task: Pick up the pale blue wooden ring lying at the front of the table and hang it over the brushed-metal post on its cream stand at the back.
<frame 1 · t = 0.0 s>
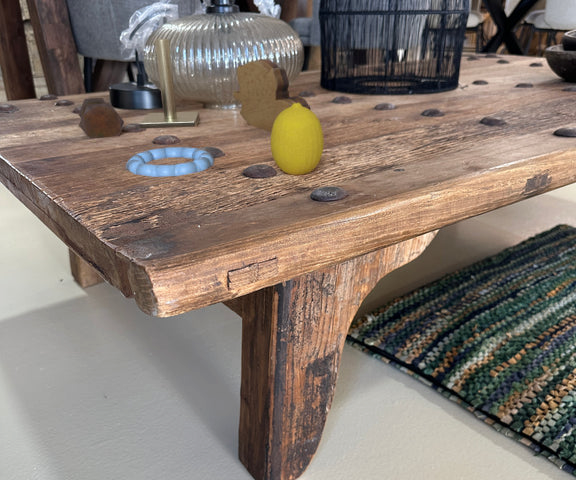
post: (171, 125, 88), on the table
lemon: (297, 181, 61), on the table
ring: (170, 163, 65), point 1 cm above the table
wooden carving: (271, 136, 81), on the table
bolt: (101, 134, 84), on the table
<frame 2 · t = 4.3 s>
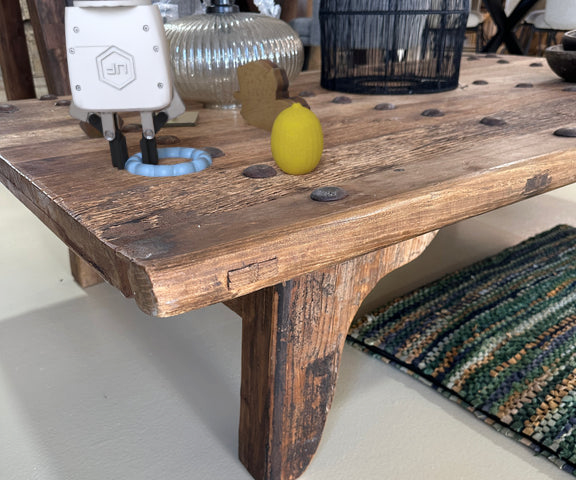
hand: (137, 171, 65), 0 cm above the table, tool pointing down, fingers closed on ring, 2 cm apart
ring: (169, 163, 65), point 1 cm above the table, touching gripper
everything else where it was.
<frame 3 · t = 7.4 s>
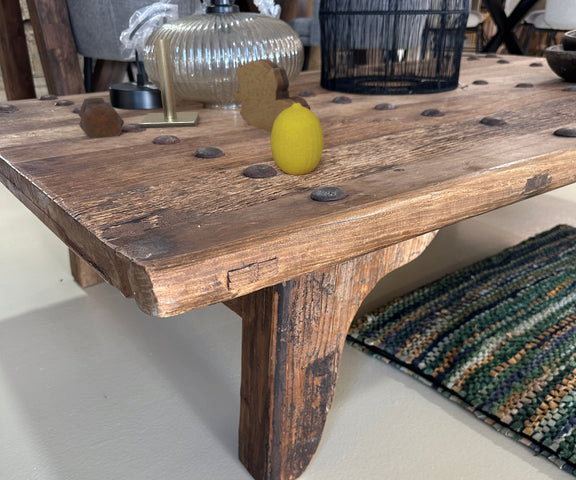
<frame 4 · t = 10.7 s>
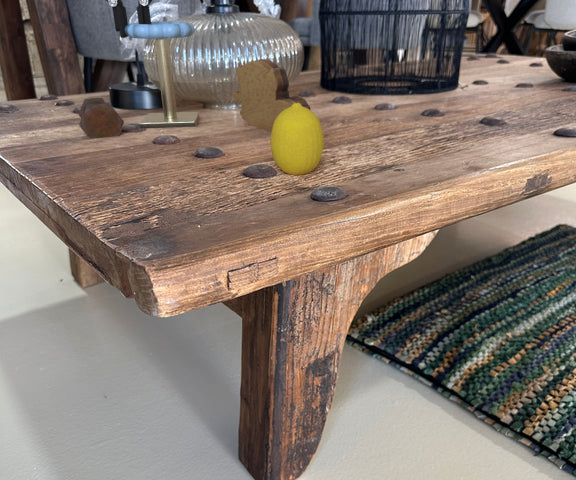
hand: (134, 35, 82), 13 cm above the table, tool pointing down, fingers closed on ring
ring: (160, 29, 82), point 13 cm above the table, touching gripper
everything else where it was.
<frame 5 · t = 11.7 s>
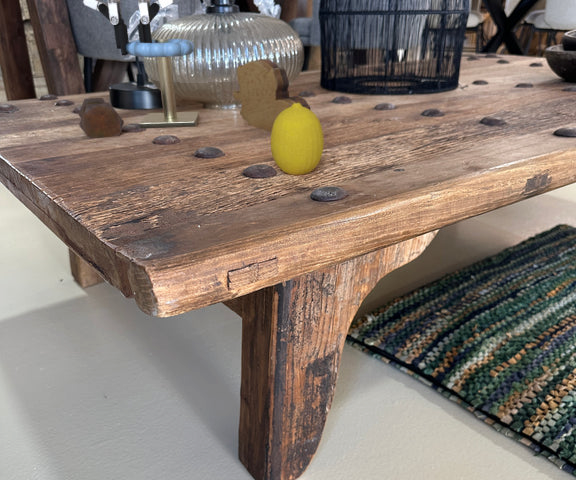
hand: (135, 53, 83), 10 cm above the table, tool pointing down, fingers closed on ring
ring: (160, 47, 83), point 11 cm above the table, touching gripper
everything else where it was.
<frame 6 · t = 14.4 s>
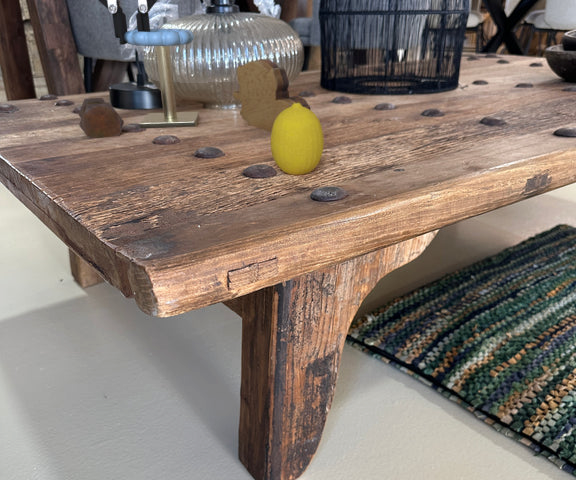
hand: (134, 42, 82), 12 cm above the table, tool pointing down, fingers closed on ring
ring: (159, 37, 82), point 12 cm above the table, touching gripper
everything else where it was.
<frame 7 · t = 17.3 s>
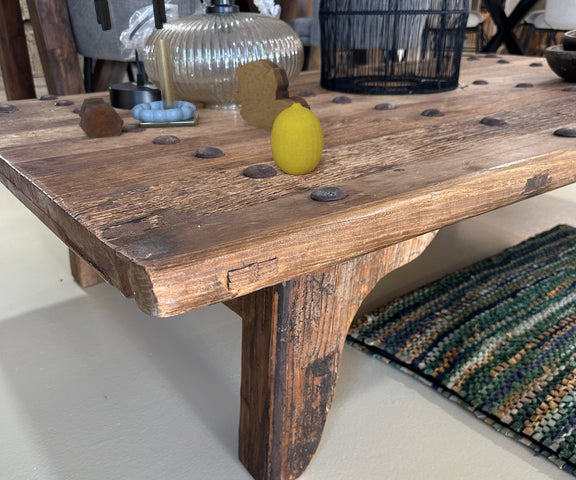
hand: (133, 28, 81), 14 cm above the table, tool pointing down, fingers open, 6 cm apart
ring: (164, 111, 87), point 2 cm above the table, touching post
everything else where it was.
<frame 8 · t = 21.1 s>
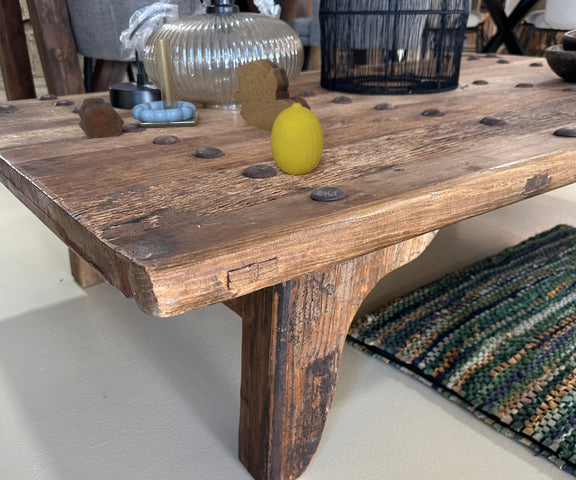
nothing on the table moved.
at the end: ring 0.9 cm off-centre on the post, point 2.1 cm above the post's base; the gripper is holding nothing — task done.
